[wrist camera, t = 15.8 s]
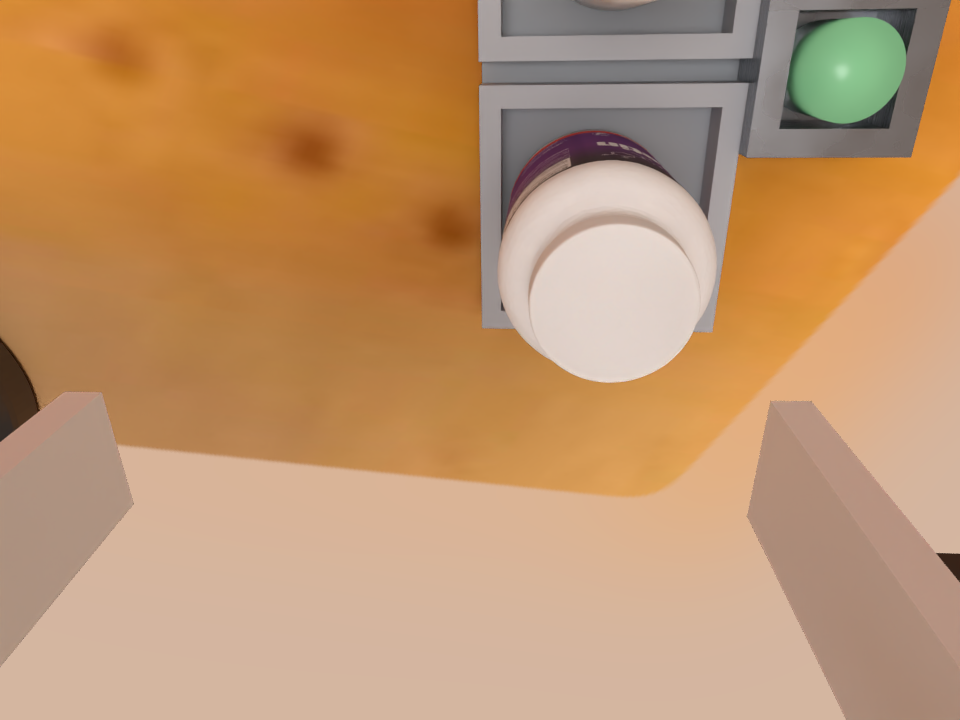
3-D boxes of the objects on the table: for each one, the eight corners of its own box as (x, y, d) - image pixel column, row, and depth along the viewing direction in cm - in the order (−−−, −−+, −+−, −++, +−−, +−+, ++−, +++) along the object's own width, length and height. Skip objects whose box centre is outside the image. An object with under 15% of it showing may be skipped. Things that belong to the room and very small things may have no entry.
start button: (764, 114, 32) (793, 123, 28) (779, 20, 30) (812, 17, 27) (852, 113, 32) (892, 123, 28) (872, 18, 30) (917, 16, 26)
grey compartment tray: (486, 314, 39) (482, 336, 36) (480, -272, 28) (473, -308, 25) (697, 318, 38) (711, 341, 35) (780, -287, 27) (809, -326, 24)
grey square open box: (721, 143, 34) (746, 157, 30) (743, -15, 31) (774, -24, 27) (865, 142, 33) (911, 157, 29) (901, -19, 30) (957, -27, 26)
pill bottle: (699, 208, 34) (798, 311, 21) (581, 311, 37) (605, 457, 24) (592, 89, 32) (630, 122, 19) (476, 207, 35) (441, 305, 22)
